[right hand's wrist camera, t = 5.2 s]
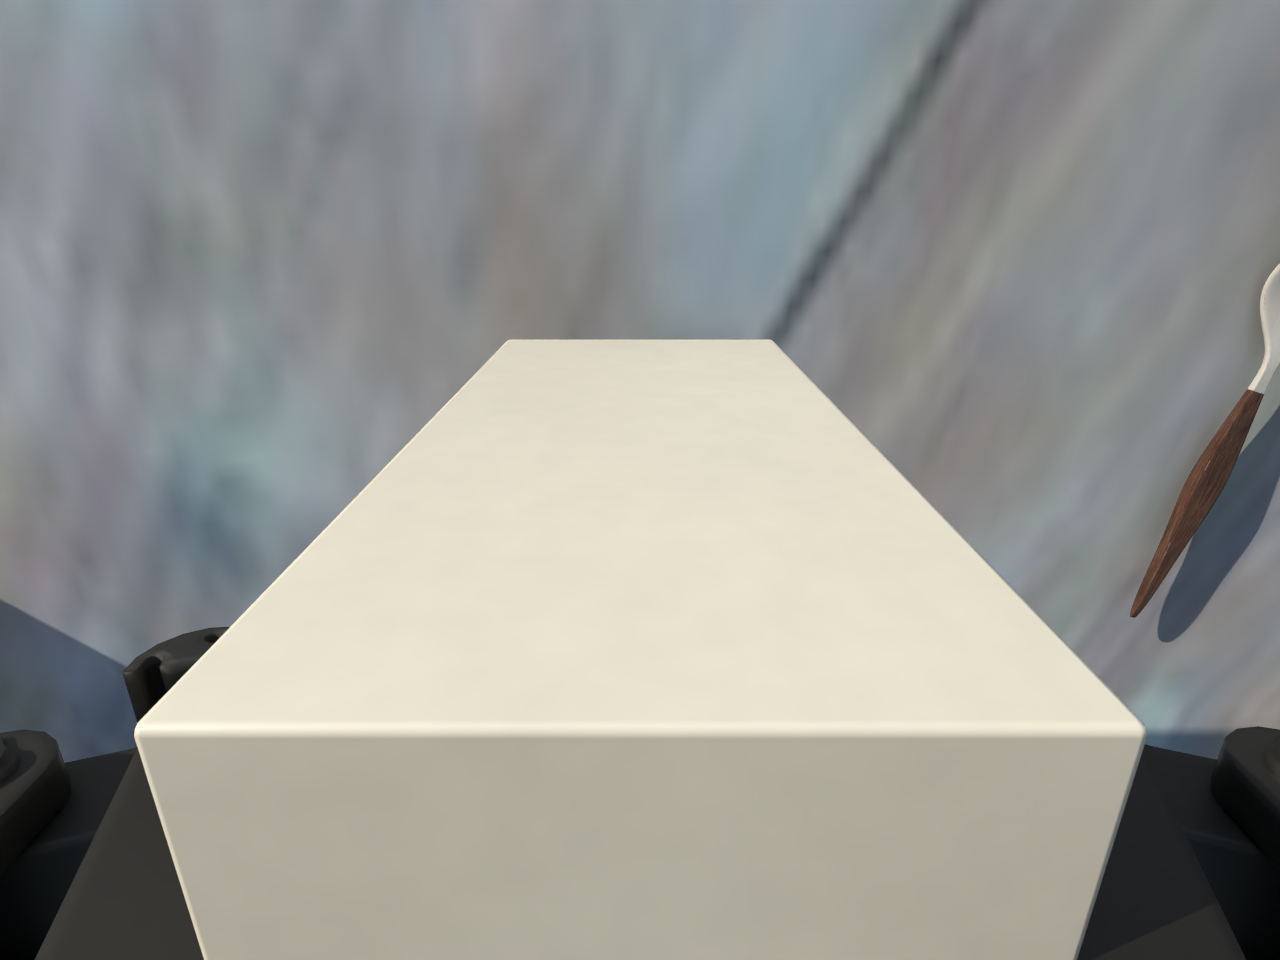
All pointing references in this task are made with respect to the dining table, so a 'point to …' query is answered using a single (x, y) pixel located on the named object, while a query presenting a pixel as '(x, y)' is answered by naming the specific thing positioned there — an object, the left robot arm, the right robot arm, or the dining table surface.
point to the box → (640, 698)
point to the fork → (1216, 455)
